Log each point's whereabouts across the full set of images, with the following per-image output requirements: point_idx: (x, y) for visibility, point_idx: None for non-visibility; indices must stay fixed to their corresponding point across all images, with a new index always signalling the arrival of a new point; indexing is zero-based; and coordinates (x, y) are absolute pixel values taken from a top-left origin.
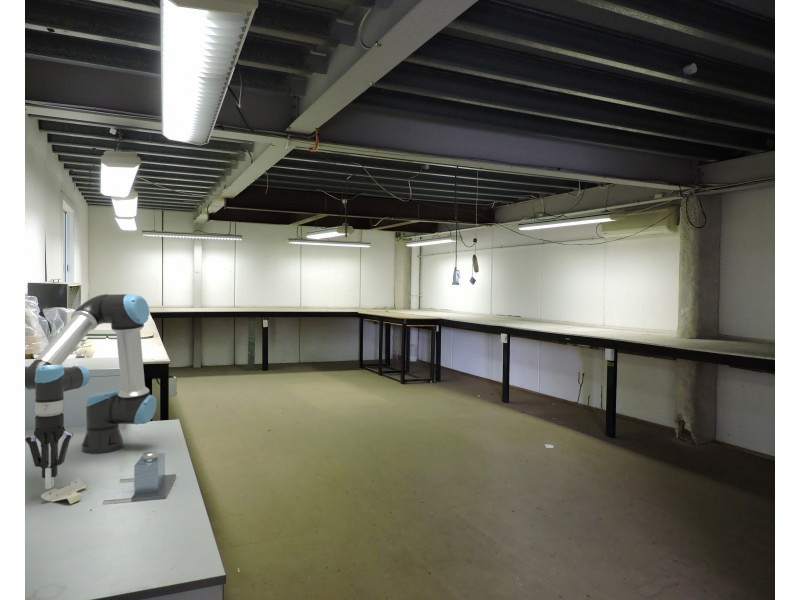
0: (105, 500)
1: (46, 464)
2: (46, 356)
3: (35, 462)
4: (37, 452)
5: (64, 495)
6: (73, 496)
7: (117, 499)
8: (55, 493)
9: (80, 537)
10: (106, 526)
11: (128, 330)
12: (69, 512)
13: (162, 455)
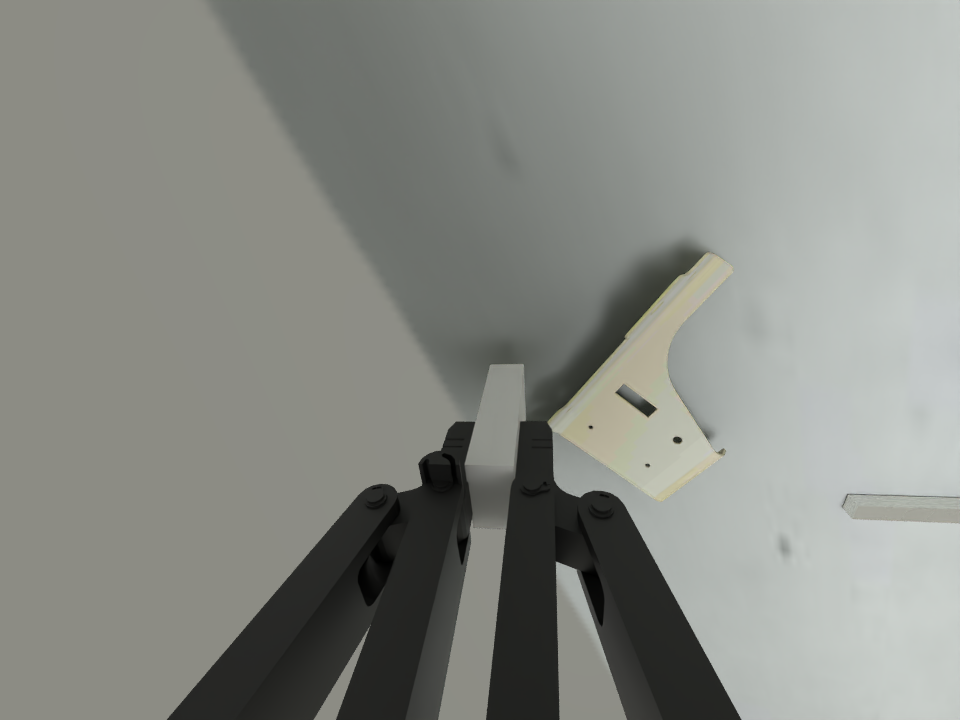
0: (868, 507)
1: (463, 531)
2: None
3: (369, 577)
4: (316, 669)
5: (603, 380)
6: (687, 481)
7: (942, 511)
8: (561, 414)
9: (769, 708)
10: (858, 679)
11: None
12: (684, 547)
13: None
